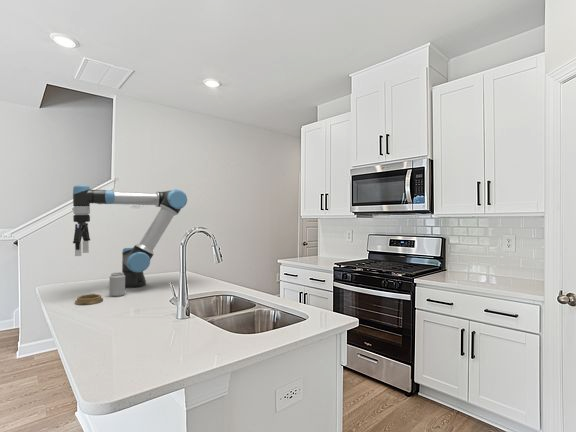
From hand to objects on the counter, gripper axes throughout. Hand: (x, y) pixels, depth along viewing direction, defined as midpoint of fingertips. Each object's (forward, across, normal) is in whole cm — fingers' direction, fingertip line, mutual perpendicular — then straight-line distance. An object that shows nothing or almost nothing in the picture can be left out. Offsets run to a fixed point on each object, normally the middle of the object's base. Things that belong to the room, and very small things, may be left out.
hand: (82, 254), depth 179 cm
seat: (+22, +16, +7) cm, 28 cm away
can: (+22, +4, +18) cm, 29 cm away
